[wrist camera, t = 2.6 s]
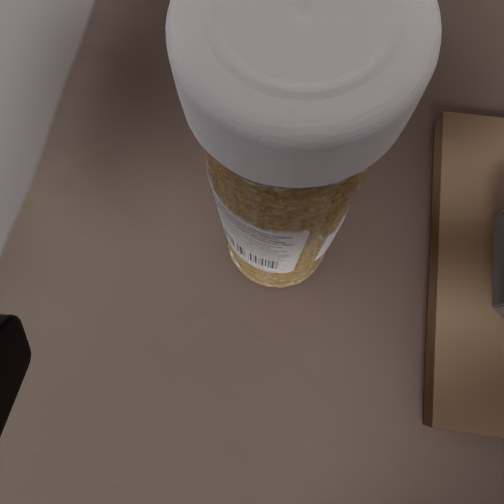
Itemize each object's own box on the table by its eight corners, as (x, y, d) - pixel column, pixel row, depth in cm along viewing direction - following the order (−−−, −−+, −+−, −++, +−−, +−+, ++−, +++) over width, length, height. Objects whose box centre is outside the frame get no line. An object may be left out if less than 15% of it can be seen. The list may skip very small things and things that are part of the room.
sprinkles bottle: (345, 251, 20) (515, 33, 6) (264, 310, 19) (273, 200, 6) (285, 176, 20) (328, -145, 7) (206, 229, 20) (104, -17, 7)
